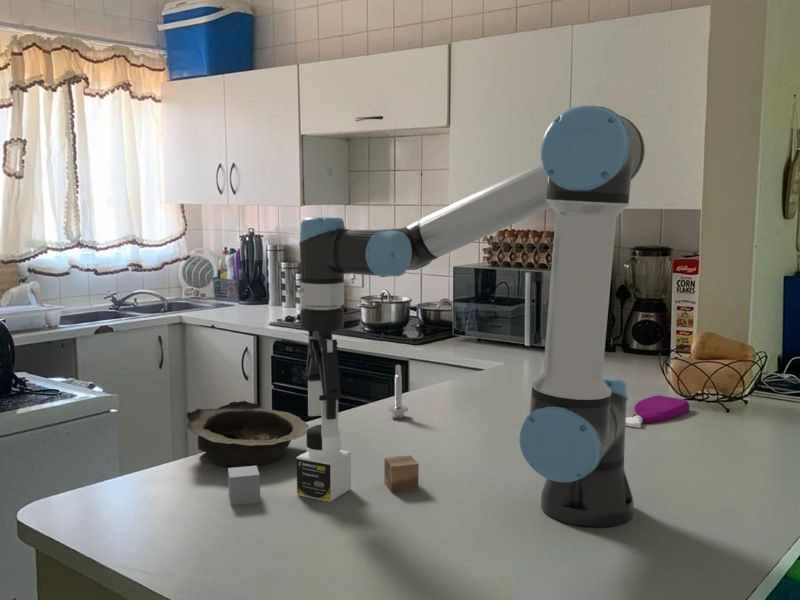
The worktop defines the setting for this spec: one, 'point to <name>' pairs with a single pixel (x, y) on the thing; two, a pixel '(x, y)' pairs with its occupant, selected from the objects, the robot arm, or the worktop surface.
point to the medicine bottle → (323, 467)
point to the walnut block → (401, 474)
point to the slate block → (244, 485)
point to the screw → (398, 396)
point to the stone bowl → (244, 433)
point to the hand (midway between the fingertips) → (322, 425)
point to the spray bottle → (657, 410)
